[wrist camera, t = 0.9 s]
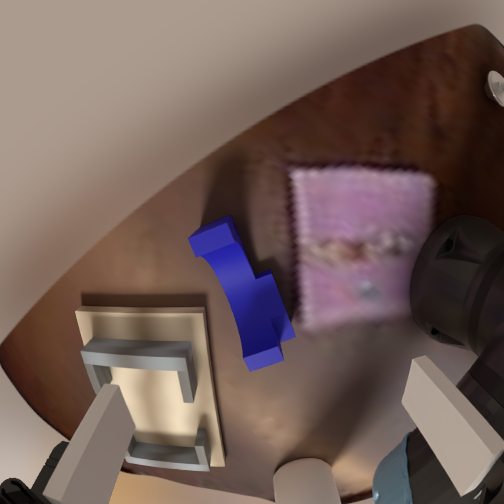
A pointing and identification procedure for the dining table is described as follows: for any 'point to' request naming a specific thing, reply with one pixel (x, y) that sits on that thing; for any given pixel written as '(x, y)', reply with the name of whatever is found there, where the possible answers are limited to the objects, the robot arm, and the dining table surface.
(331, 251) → the dining table surface
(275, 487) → the alcohol
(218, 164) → the dining table surface
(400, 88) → the dining table surface
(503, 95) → the screw
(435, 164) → the dining table surface
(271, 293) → the cable clip
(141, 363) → the board
